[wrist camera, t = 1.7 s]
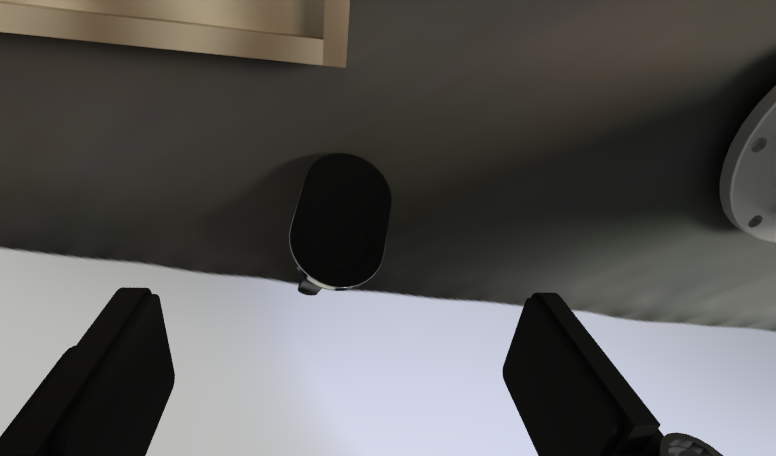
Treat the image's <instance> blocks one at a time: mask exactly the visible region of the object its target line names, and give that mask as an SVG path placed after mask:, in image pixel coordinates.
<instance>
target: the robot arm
mask: <svg viewBox="0 0 776 456" xmlns="http://www.w3.org/2000/svg"><path fill="white" fill-rule="evenodd" d="M720 200H721V204H722V208H723V211H724V213H725V214H726V216H727V217H728V219H729V221H730V222H731V223H732V224H734V225H735V226H736V227H737V228H738V229H740V230H741V231H743V232H745V233H747V234H749V235H751V236H752V237H754V238H756V239H759V240H763V241H766V242H770V243H776V85H775V86H774V87H773V88H772V89H771V90H770V92H769V93H768V94H767V95H766V96H765V97H764V98H763V99H762V100H761V101H760V102H759V103H758V104H757V105H756V107H755V108H754V109H753V111H752V112H751V113H750V115H749V116H748V117H747V119H746V120H745V121H744V123H743V124H742V126H741V127H740V129H739V131H738V133H737V134H736V136H735V138H734V140H733V141H732V143H731V145H730V148H729V150H728V153H727V155H726V158H725V160H724V163H723V168H722V172H721V177H720ZM174 376H175V374H174V368H173V363H172V358H171V353H170V349H169V344H168V338H167V334H166V328H165V323H164V319H163V313H162V308H161V304H160V298H159V296H158V295H157V294H152V293H151V291H150V289H148V288H120V289H118V291H116V293H115V294H114V295H113V297H112V298H111V300H110V301H109V302H108V304H107V305H106V306H105V308H104V309H103V310H102V312H101V313H100V314H99V316H98V317H97V319H96V320H95V321H94V323H93V324H92V325H91V327H90V328H89V329H88V330H87V332H86V333H85V334H84V336H83V337H82V339H81V340H80V341H79V343H78V344H77V345H76V346H73V347H71V348H69V349H68V350H67V351H66V352H65V353H64V354H63V355H62V357H61V358H60V359H59V360H58V362H57V363H56V364H55V366H54V367H53V368H52V370H51V371H50V372H49V374H48V375H47V376H46V378H45V379H44V380H43V381H42V383H41V384H40V385H39V387H38V388H37V389H36V391H35V392H34V393H33V395H32V396H31V397H30V399H29V400H28V401H27V403H26V404H25V405H24V406H23V408H22V409H21V410H20V412H19V413H18V415H17V416H16V417H15V418H14V419H13V421H12V422H11V423H10V425H9V426H8V428H7V429H6V430H5V431H4V433H3V434H2V435H1V437H0V456H145V455H146V452H147V450H148V447H149V445H150V443H151V440H152V438H153V435H154V433H155V431H156V428H157V426H158V423H159V421H160V418H161V416H162V413H163V411H164V409H165V406H166V403H167V401H168V399H169V396H170V394H171V391H172V389H173V385H174V379H175V377H174ZM503 378H504V381H505V383H506V386H507V388H508V390H509V392H510V394H511V397H512V399H513V401H514V403H515V405H516V407H517V410H518V412H519V414H520V416H521V418H522V421H523V422H524V425H525V427H526V429H527V431H528V434H529V436H530V438H531V440H532V442H533V445H534V447H535V449H536V451H537V453H538V455H539V456H723V455H722V454H720V453H719V452H718V451H716V450H715V449H714V448H713V447H711V446H710V445H708V444H706V443H704V442H703V441H701V440H700V439H697V438H695V437H692V436H690V435H687V434H681V433H670V434H667V435H666V436H663V434H662V433H661V432H660V431H659V429H658V428H659V426H660V424H659V422H658V421H657V420H656V418H655V417H654V416H653V414H652V413H651V412H650V411H649V409H648V408H647V407H646V406H645V404H644V403H643V402H642V400H641V399H640V398H639V397H638V395H637V394H636V393H635V392H634V390H633V389H632V388H631V386H630V385H629V384H628V383H627V381H626V380H625V379H624V377H623V376H622V375H621V374H620V372H619V371H618V370H617V369H616V367H615V366H614V365H613V363H612V362H611V361H610V360H609V358H608V357H607V356H606V354H605V353H604V352H603V351H602V349H601V348H600V347H599V345H598V344H597V343H596V342H595V340H594V339H593V338H592V336H591V335H590V334H589V333H588V331H587V330H586V329H585V328H584V326H583V325H582V324H581V322H580V321H579V320H578V319H577V317H575V315H574V314H573V312H572V311H571V310H570V308H569V307H568V306H567V304H566V303H565V302H564V301H563V299H562V298H561V297H560V296H559V295H558V294H557V293H534V294H533V295H532V297H531V298H528V299H527V300H526V302H525V304H524V307H523V310H522V313H521V316H520V319H519V322H518V325H517V328H516V331H515V334H514V337H513V339H512V342H511V345H510V348H509V351H508V354H507V357H506V360H505V363H504V366H503Z"/></svg>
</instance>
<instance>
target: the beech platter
mask: <svg viewBox="0 0 776 456" xmlns="http://www.w3.org/2000/svg"><path fill="white" fill-rule="evenodd" d="M349 5H350V0H0V32H6V33H16V34H25V35H35V36H45V37H54V38H64V39H74V40H83V41H93V42H102V43H112V44H122V45H131V46H141V47H151V48H160V49H170V50H179V51H189V52H199V53H208V54H218V55H228V56H237V57H247V58H257V59H266V60H276V61H285V62H295V63H305V64H314V65H324V66H334V67H343V68H346V58H347V40H348V23H349Z"/></svg>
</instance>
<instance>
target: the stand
mask: <svg viewBox="0 0 776 456" xmlns="http://www.w3.org/2000/svg"><path fill="white" fill-rule="evenodd" d="M391 204H392V197H391V191H390V188H389V185H388V183H387V181H386V180H385V178H384V176H383V175H382V174H381V173H380V171H379V170H378V169H377V168H375V167H374V166H373V165H372V164H370V163H369V162H367V161H366V160H364V159H362V158H360V157H357V156H354V155H350V154H343V153H337V154H330V155H326V156H324V157H321V158H319V159H318V160H317V161H315V162H314V163H313V164H312V165H311V166H310V168H309V169H308V171H307V173H306V175H305V178H304V180H303V184H302V187H301V191H300V194H299V197H298V201H297V204H296V208H295V211H294V215H293V218H292V222H291V225H290V228H289V233H288V250H289V254H290V257H291V259H292V261H293V263H294V265H295V267H296V268H297V269H298V271H299V272H300V273H301V274H302V275H303V276H302V278H301V280H300V283H299V287H298V291H299V292H300V293H302V294H305V295H316V294H317V293H318V292H319V291H320V290H321V288H325V289H329V290H335V291H345V290H350V289H354V288H357V287H359V286H361V285H363V284H364V283H366V282H367V281H368V280H370V279H371V278H372V277H373V276H374V275H375V273H376V272H377V271H378V270H379V268H380V266H381V264H382V261H383V257H384V253H385V246H386V239H387V232H388V226H389V219H390V212H391Z"/></svg>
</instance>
